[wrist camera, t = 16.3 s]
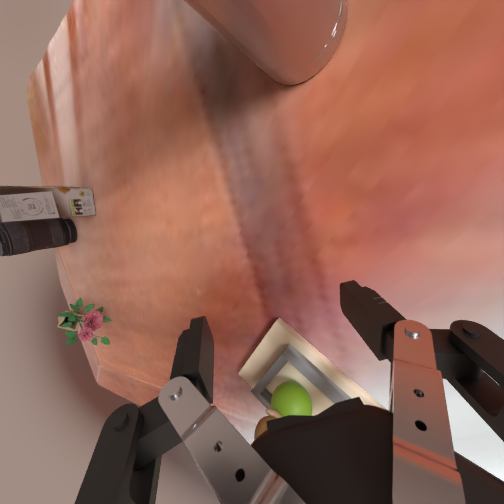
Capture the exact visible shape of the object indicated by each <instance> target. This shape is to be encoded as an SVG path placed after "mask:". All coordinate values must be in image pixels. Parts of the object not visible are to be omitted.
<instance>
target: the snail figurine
mask: <svg viewBox="0 0 504 504" xmlns="http://www.w3.org/2000/svg"><path fill="white" fill-rule="evenodd" d="M266 413H267V414H268V415H269V416H266V417H263V418H262V419H261V420H260V421H259V422H258V424H257V426H256V429H255V437H254V439H256V438H257V437H258V436H259V435H260V434H262V433H263V432H264V431H266V430H268V429H267V423H266V421H269V420H272V419H276V418H280V417H284V416H288V415H308V416H311V415H312V401H311V398H310V395H309V393H308V392H307V390H306V389H305V388H304V387H303V386H302V385H300V384H298V383H296V382H293V381H287V382H283V383H281V384H280V385H278V386H277V387H276V389H275V390H274V392H273V394H272V398H271V409H266Z"/></svg>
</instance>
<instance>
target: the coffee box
mask: <svg viewBox="0 0 504 504" xmlns="http://www.w3.org/2000/svg"><path fill="white" fill-rule="evenodd" d="M90 215H96V212H95V206H94V199H93V192H92V189H88V188H80V187H48V186H41V187H40V186H0V222H1V223H2V222H12V221H25V220H38V219H51V218H64V217H77V216H90Z"/></svg>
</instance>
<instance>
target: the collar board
mask: <svg viewBox="0 0 504 504" xmlns="http://www.w3.org/2000/svg"><path fill="white" fill-rule="evenodd" d="M238 374H239V375H240V376H241V377H242V378H243V379H244V380H245V381H246V382H247V384H248V385H249V386H250V387H251V388H252V391H251V392H252V393H253V394H254V395H255V396H256V397H257V398H258V399H259V401H260V402H261V403H262V404H263V405H264V406H265V407H266V408H267V409H271V398H272V394H273V392H274V390H275V389H276V387H277V386H278V385H280V384H281V383H283V382H287V381H293V382H296V383H298V384H300V385H302V386H303V387H304V388H305V389H306V390H307V392H308V393H309V395H310V398H311V401H312V415H311V416H315V415H317V414H319V413H321V412H322V411H324V410H326V409H327V408H329V407H330V406H332V405H333V404H335V403H337V402H340V401H344V400H348V399H352V398H356V397H360V399H361V400H362V402H363V404H364V405H373V406H377V407H380V408H383V409H385V408H384V407H383V406H382V405H380V404H379V403H378V402H377V401H376V400H375V399H373V398H372V397H371V396H370V395H369V394H368V393H366V392H365V391H364V390H363V389H362V388H361V387H360V386H358V385H357V384H356V383H355V382H354V381H353V380H351V379H350V378H349V377H348V376H347V375H346V374H344V373H343V372H342V371H341V370H340V369H339V368H338V367H336V366H335V365H334V364H333V363H332V362H331V361H329V360H328V359H327V358H326V357H325V356H324V355H322V354H321V353H320V352H319V351H318V350H317V349H316V348H314V347H313V346H312V345H311V344H310V343H309V342H307V341H306V340H305V339H304V338H303V337H302V336H300V335H299V334H298V333H297V332H296V331H295V330H293V329H292V328H291V327H290V326H289V325H288V324H287V323H285V322H284V321H283V320H282V319H281V318H280V317H279V318H278V319H277V320H276V322H275V323H274V324H273V326H272V327H271V329H270V330H269V331H268V333H267V334H266V335H265V337H264V338H263V340H262V341H261V342H260V344H259V345H258V347H257V348H256V349H255V351H254V352H253V354H252V355H251V356H250V358H249V359H248V361H247V362H246V363H245V365H244V366H243V368H242V369H241V370H240V372H239V373H238Z"/></svg>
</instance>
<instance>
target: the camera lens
mask: <svg viewBox="0 0 504 504" xmlns="http://www.w3.org/2000/svg"><path fill="white" fill-rule="evenodd" d="M76 239H77V232H76V228H75V225H74V223H73V222H72V220H71V219H63V218H51V219H38V220H25V221H12V222H2V223H1V222H0V256H11V255H17V254H23V253H27V252H31V251H35V250H41V249H47V248H55V247H60V246H64V245H68V244H69V243H72V242H75V241H76Z"/></svg>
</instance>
